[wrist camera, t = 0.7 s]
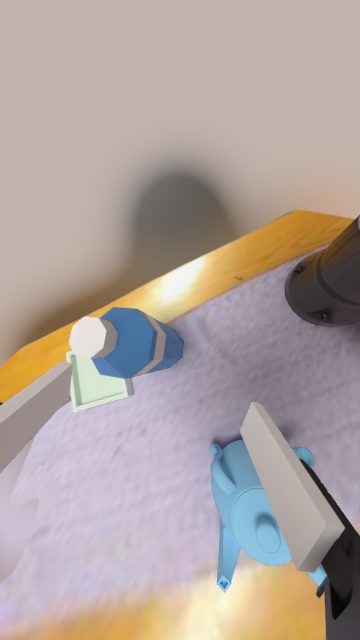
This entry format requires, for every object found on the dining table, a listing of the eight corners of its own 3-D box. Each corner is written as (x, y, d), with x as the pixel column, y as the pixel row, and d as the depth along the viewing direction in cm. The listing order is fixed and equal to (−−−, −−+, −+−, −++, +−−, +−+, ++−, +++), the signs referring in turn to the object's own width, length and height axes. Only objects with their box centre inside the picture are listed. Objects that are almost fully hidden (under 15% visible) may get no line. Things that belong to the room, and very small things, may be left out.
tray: (121, 336, 43) (116, 335, 41) (133, 394, 40) (128, 396, 37) (74, 352, 45) (66, 352, 43) (81, 409, 42) (73, 412, 39)
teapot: (321, 527, 29) (382, 629, 18) (218, 531, 32) (218, 621, 21) (289, 425, 32) (324, 461, 22) (199, 437, 35) (191, 473, 25)
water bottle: (139, 355, 41) (30, 355, 17) (158, 321, 42) (79, 276, 18) (171, 376, 39) (96, 410, 15) (191, 339, 39) (151, 315, 15)
